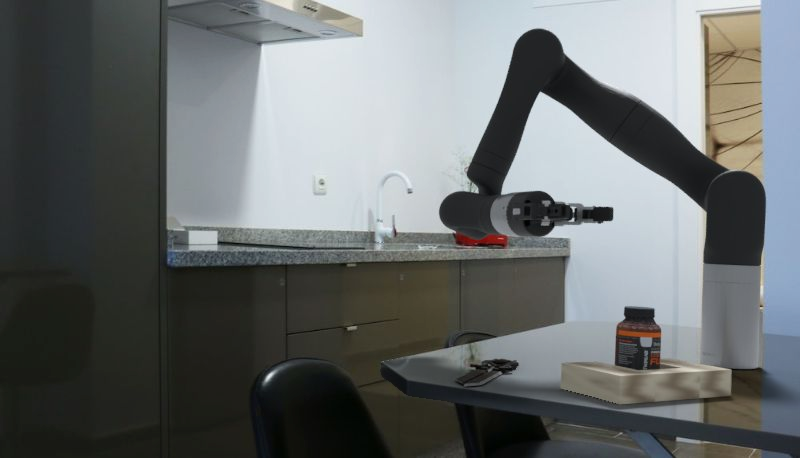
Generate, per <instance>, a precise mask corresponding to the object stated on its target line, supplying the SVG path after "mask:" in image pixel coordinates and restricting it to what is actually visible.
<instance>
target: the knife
mask: <svg viewBox="0 0 800 458" xmlns="http://www.w3.org/2000/svg"><path fill="white" fill-rule="evenodd" d="M480 363H481V364H478V363H470V364H469V368H475V369H472V370H470V371H469V372H467V373H465V374H463V375H461V376H459V377H457V378H455V381H457V383H460V384H462V385H463V387H474V386H475V387H476V386H483V385H484V384H486V383H488V382H490V381H491V380H493V379H495V378H497V377H499V376H501V375H505V374H506V373H507V371H510V373H511V374H510V375H513V374H512V373H513V371H512V370H514V371H515V370H517V369H518V367H519V366H520V363H519V362H518V361H517V359H513V360H510V359H506V358H493V359H484V360H483V361H481V362H480ZM489 365H490V366H492V368H491V370H489ZM517 366H518V367H517ZM516 368H517V369H516Z"/></svg>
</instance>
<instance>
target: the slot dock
mask: <svg viewBox="0 0 800 458" xmlns="http://www.w3.org/2000/svg"><path fill="white" fill-rule="evenodd" d="M560 368H561V369H560V370H561V374H560V390H562V389H564V390H563V391H566V390H568V391H567V392H570V391H572V392H571V393H574V392H576V393H575V394H577V393H580V394H579V395H581V394H584V395H583V396H585V395H588V396H587V397H589V396H592V397H591V398H593V397H596V398H599V399H598V400H600V399H602V400H601V401H604V400H606V401H605V402H608V401H609V402H608V403H612V402H613V404H615V403H616V405H629V404H641V403H642V404H643V403H657V402H658V403H659V402H669V401H670V402H671V401H680V400H681V401H682V400H683V401H684V400H695V399H705V398H706V399H709V398H721V397H722V398H723V397H731V396H732V373H733V372H732V368H722V367H714V366H709V365H704V364H701V363H699V362H698V363H697V362H692V361H686V360H680V359H675V358H670V357H669V358H663V357H662V358H660V369H653V370H635V369H630V368H625V367H620V366H615V364H610V363H606V362H605V363H604V362H599V361H574V362H573V361H572V362H561V366H560ZM596 398H595V399H596Z"/></svg>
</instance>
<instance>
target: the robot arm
mask: <svg viewBox="0 0 800 458" xmlns="http://www.w3.org/2000/svg"><path fill="white" fill-rule="evenodd" d="M563 47H564V46H563V45H562V42H561V40H560V38H559V37H558V35H556V34H555V33H554V32H553V31H551V30H550V29H547V28H543V27H536V28H531V29H530V30H526V31H525V32H524V33H523V34H521V35H520V36H519V38H518V39H517V40H516V42H515V44H514V47H513V50H512V54H511V58H510V62H509V66H508V70H507V72H506V73H507V74H506V76H505V80H504V84H503V87H502V90H501V92H500V95H499V98H498V101H497V103H496V105H495V108H494V110H493V113H492V115H491V117H490V119H489V121H488V124H487V126H486V128H485V130H484V132H483V135H482V136H481V139H480V141H479V143H478V145H477V148H476V149H475V152H474V154H473V156H472V159H471V162H470V163H469V165H468V168H467V171H466V178H467V179H468V180H469V181H470V182H471V183H473V184H474V185H475V186H476V187H477V189H478V192H473V191H465V190H458V191H454V192H451V193H450V194H448V195H446V196H445V197H444V199H443V200H442V201H441V203H440V205H439V209H438V216H439V220H440V221H441V223H442V224H443V225H444V226H445V228H448V229H449V230H452V231H454V232H456V233H458V234H460V235H463V236H465V237H468V238H470V239H472V240H475V241H481V240H483V239H485V238H486V237H488V236H489V235H491V236H509V237H513V238H515V237H517V238H542V237H546V236H547V235H549V234H550V233H551V232H552V231H553V230H554V229H555V227H565V226H582V225H583V224H598V225H599V224H604V222H612V221H613V220H614V207H613V206H596V205H592V206H584V204H582V203H579V202H578V203H577V202H571V203H570V202H568V203H567V202H565V201H555V199H554V198H553V197H552V196H551V195H550V194H549V193H547V192H546V191H542V190H528V191H517V192H516V191H515V192H509V193H505V194H503V193H502V190H503V187H504V183H505V180H506V179H507V177H508V174H509V171H510V169H511V167H512V165H513V163H514V160H515V158H516V155H517V153H518V149H519V147H520V144H521V142H522V138H523V135H524V132H525V129H526V126H527V123H528V122H527V121H528V120H529V117H530V114H531V113H532V112H531V111H532V109H533V107H534V104H535V102H536V100H537V98H538V96H539V94H540V93H542V94H544V95H545V96H547V97H549V98H551V99H552V100H554V101H556V102H557V103H559V104H561V105H562V106H564V107H565V108H567V109H568V110H570V112H572V113H573V114H574V115H575V116H576V117H577V118H579V119H580V120H581V121H582V122H583V123H584V124H586V125H587V126H588V127H589V128H590V129H592V130H593V131H594V132H595V133H597V134H598V135H599V136H600V137H602V138H603V139H604V140H605V141H606V142H608V143H609V144H611V145H612V146H613V147H615V148H617V150H619V151H620V152H622V153H623V154H624V155H626V156H627V157H629V158H631V159H632V160H634V161H635V162H636V163H639V164H640V165H641V166H643V167H645V168H646V169H648V170H650V172H653V173H654V174H656V175H658V176H660V177H661V178H664V179H665V180H667V181H668V182H671V184H673V185H674V186H676V187H677V188H678V189H679V190H680V191H682V192H683V193H685V194H686V196H688V197H689V198H690V199H691V200H692V201H694V203H696V204H697V205H698V206H699V208H701V209H702V210H703V211H704V212H706V223H705V238H704V239H705V240H704V246H703V256H702V257H703V258H702V262H703V263H702V292H701V293H702V296H701V320H700V324H701V325H700V345H699V346H700V347H699V349H700V350H699V364H703V365H709V366H714V367H720V368H725V369H733V370H734V369H735V370H736V369H737V370H752V369H753V370H755V369H758V368H761V367H762V361H763V359H762V358H763V355H762V354H763V330H764V329H763V327H764V326H763V325H764V311H762V310H761V287H762V286H761V285H762V283H761V278H762V277H761V276H762V258H763V257H762V255H763V251H764V247H765V234H766V231H765V230H766V213H767V196H766V195H767V193H766V189H765V186H764V184H763V183H762V181H761V180H760V178H758V176H756V175H754V174H753V173H752V172H749V171H748V170H744V169H729V167H726V166H724V165H722V164H720V163H719V162H717V161H716V160H714V159H712V158H710V157H709V156H708V155H706V154H705V153H703V152H702V151H701V150H699V149H698V148H697V147H696V146H695V145H694V144H693V143H691V141H690V140H689V139H688V138H687V137H686V136H685V135H684V134H683V133H682V132H681V131H680V130H679V129H678V128H677V127H676V126H675V125H674V124H673V123H672V122H671V121H670V120H668V119H667V118H666V117H665V116H664V114H661V112H659V111H658V110H656V109H655V108H654V107H652V106H651V105H649V104H648V103H647V102H645V101H643V100H642V99H641V98H640V97H638V96H636V95H634V94H633V93H631V92H629V91H626V90H624V89H622V88H620V87H617V86H616V85H613V84H610V83H607V82H605V81H603V80H600V79H598V78H597V77H594V76H593V75H592V74H590V73H589V72H587V71H586V70H585V69H583V68H582V67H581V66H579V64H577V63H576V62H575V61H574V60H573V59H571V58H570V57H569V56H568V55H567V54H566V53H565V51H564V48H563ZM572 207H573V208H572ZM573 209H574V210H573Z"/></svg>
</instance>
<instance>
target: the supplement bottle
mask: <svg viewBox="0 0 800 458" xmlns="http://www.w3.org/2000/svg"><path fill="white" fill-rule="evenodd" d="M655 311H656V309H655V307H648V306H647V307H646V306H636V305H635V306H631V305H630V306H629V305H626V306H624V309H623V316H624V318H623V319H622V321H620V322H618V323H617V324H616V328H615V344H614V345H615V351H614V365H615V366H620V367H625V368H630V369H635V370H653V369H660V359H661V352H662V349H661V348H662V347H661V346H662V327H661V326H660V325H659V324H658V323H656V321H655V319H654V318H656V315H655V313H656V312H655Z"/></svg>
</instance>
